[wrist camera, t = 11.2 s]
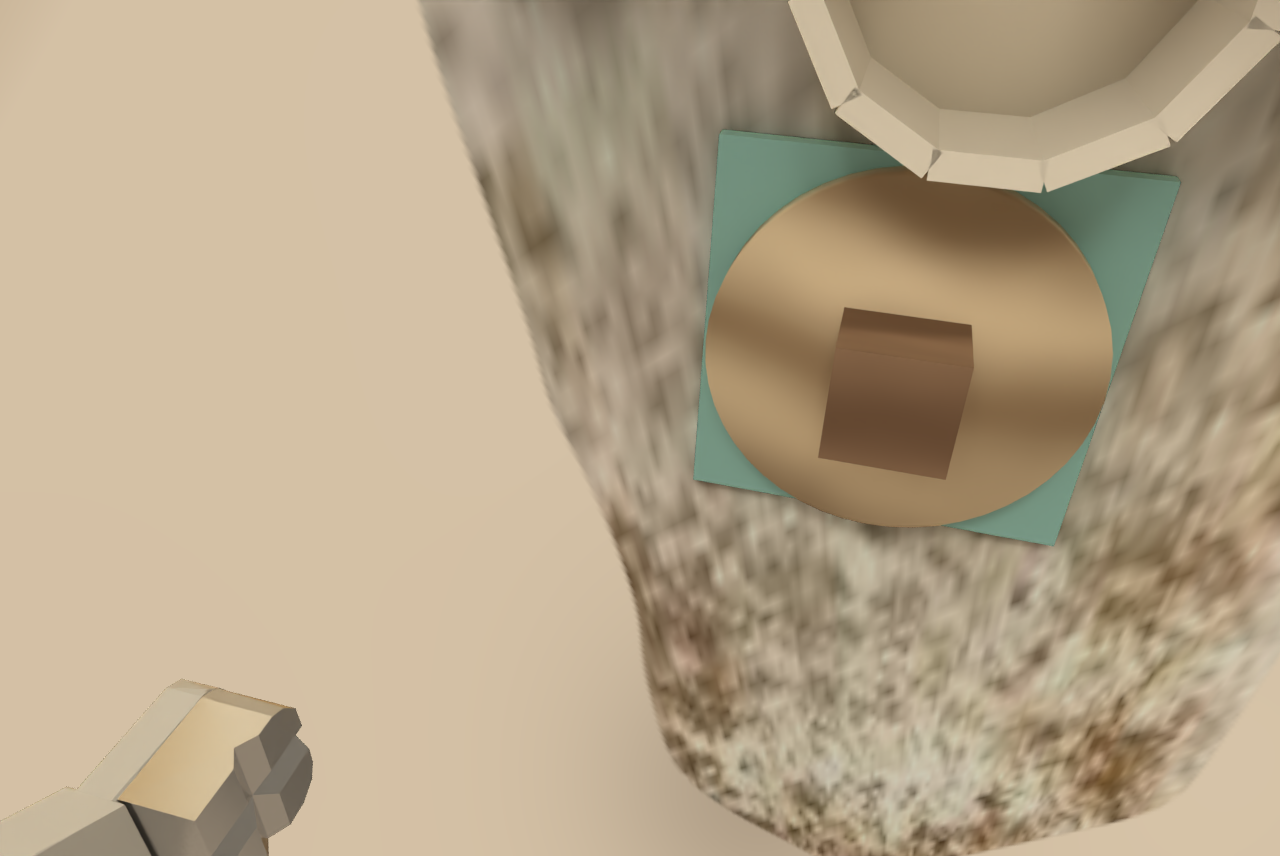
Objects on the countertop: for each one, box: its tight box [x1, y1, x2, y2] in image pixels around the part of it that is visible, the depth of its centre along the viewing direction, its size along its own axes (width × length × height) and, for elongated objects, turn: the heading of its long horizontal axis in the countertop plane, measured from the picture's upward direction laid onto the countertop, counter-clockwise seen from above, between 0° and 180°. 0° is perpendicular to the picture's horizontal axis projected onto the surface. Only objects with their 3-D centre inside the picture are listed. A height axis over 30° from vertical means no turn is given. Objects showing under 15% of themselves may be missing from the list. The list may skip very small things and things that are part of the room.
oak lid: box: [705, 166, 1113, 528], centre depth 30 cm, size 13×13×4 cm
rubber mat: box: [693, 129, 1181, 546], centre depth 32 cm, size 14×14×1 cm
